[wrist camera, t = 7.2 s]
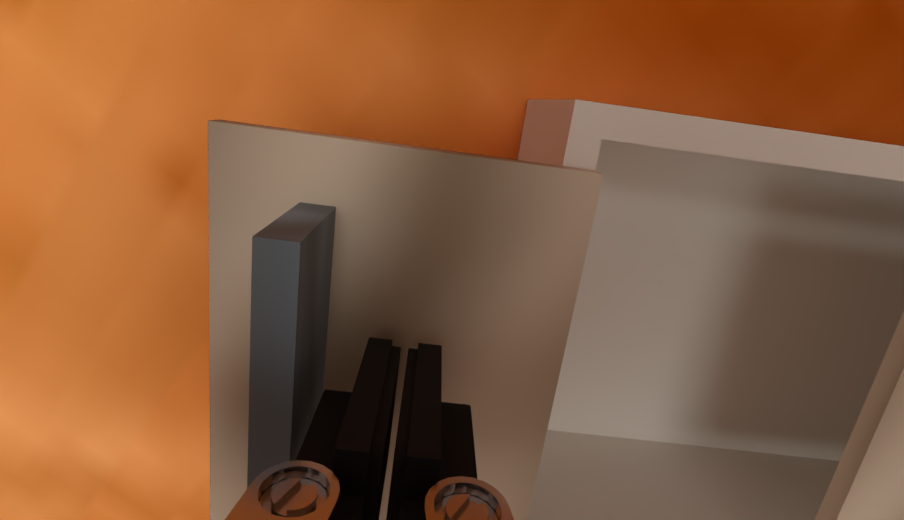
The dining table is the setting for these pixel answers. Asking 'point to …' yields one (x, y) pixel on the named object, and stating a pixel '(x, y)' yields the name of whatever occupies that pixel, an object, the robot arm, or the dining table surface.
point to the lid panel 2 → (874, 450)
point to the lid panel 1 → (385, 290)
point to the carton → (716, 313)
